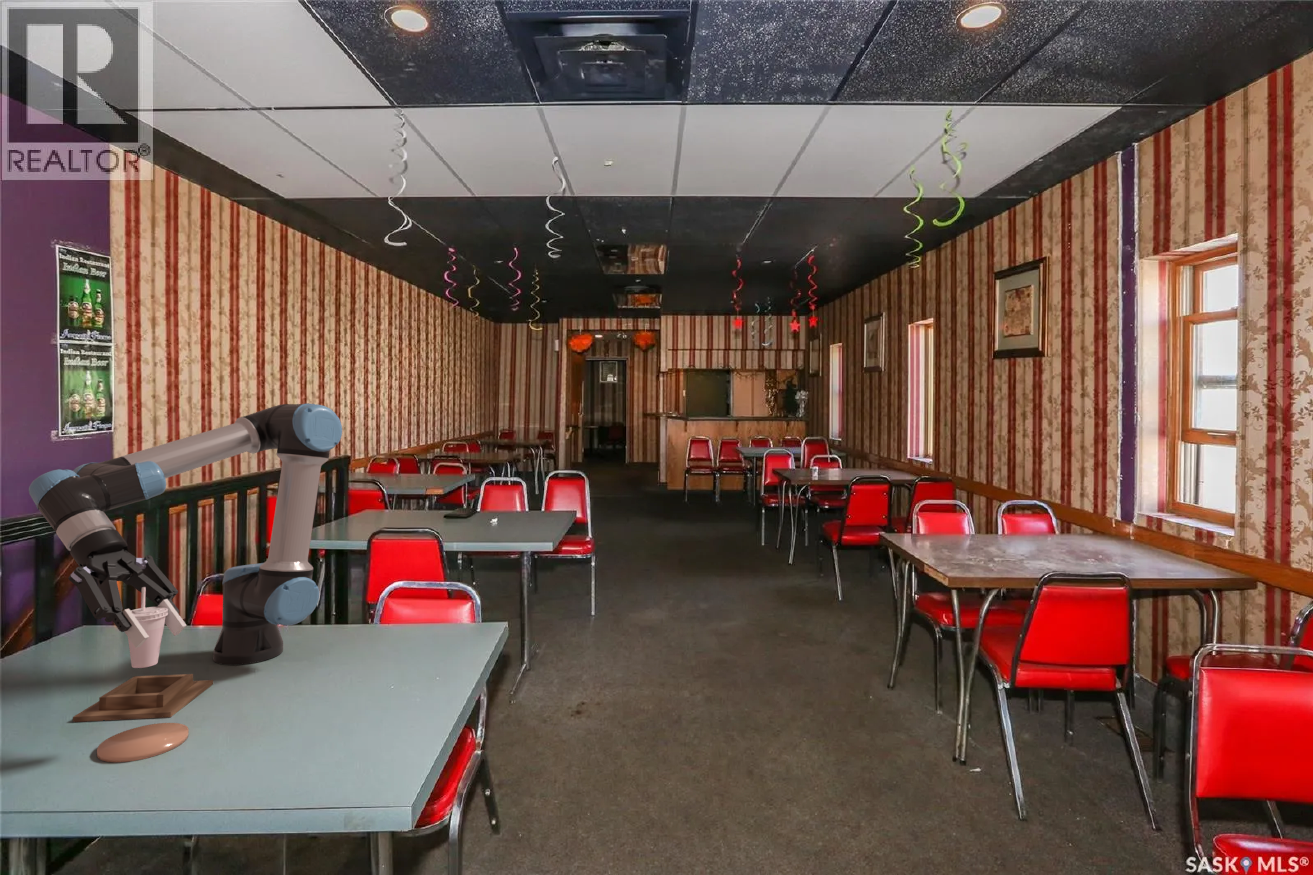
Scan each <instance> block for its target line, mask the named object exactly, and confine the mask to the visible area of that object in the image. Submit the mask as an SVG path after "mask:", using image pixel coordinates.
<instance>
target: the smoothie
mask: <svg viewBox="0 0 1313 875" xmlns="http://www.w3.org/2000/svg"><path fill="white" fill-rule="evenodd" d="M145 592H146V587H142V593H141V603H140V605H141V606H140V608H136V609H132V610H131V609H130V611H131V612H132V614H133V615H134V616H135V618H136V619H137V621H138V622H139V623H140V625H141V626H142V628H143V629H144V630H145V632H146V633H147V635H148V636H149V638H148V639H147V640H146V641H145V642H144V643H143V644H142V645H141V646H140V647H137V648H135V646H134V645H133V643H132V642H131V640H130V639H129V638H128V637H127V640H128V647H129V656H130V663H131V668H134V669H138V668H139V669H142V668H148V667H149V668H150V667H152V666H155V665H157V664H158V662H159V658H160V657H159V656H160V651H161V647H162V646H161V644H162V640H163V633H164V628H165V625H166V624H165V617H166V616H167V615H168V609H167V608H165V607H157V606H148V607H146V596H145Z"/></svg>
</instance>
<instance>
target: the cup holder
mask: <svg viewBox="0 0 1313 875" xmlns="http://www.w3.org/2000/svg"><path fill="white" fill-rule="evenodd" d="M213 685H214V679H207V680H206V679H204V680H194V674H193V673H187V674H186V673H184V674H161V675H159V674H157V675H155V674H154V675H135V676H133V677H131V678H130V679H128V680H126V681H125V682H123V683H121V684H119V685H118V686H116V687H114V688H112V689H110V690H109V691H108V692H106V693H105V694H102V695H101V696H100V697H99V699H98V701H96V702H95V703H93V704H92V705H90V706H88V707H87V708H86V709H85V708H84V710H82V711H80V712H79V713H77V714H75V715H74V716H72V723H81V722H84V723H85V722H100V721H102V722H103V720H105V721H117V720H118V721H122V720H141V719H162V718H172V717H173V716H174V715H175V714H177V713H178V712H179V711H181V710H182V709H183V708H185V707H186V706H187V705H188V704H189V703H191V702H192V701H194V700H195V699H197V698H198V697H199V696H201V695H202V694H203V693H204V692H205V691H207V690H208V689H209V688H210V687H212V686H213Z"/></svg>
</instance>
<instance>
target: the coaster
mask: <svg viewBox="0 0 1313 875" xmlns="http://www.w3.org/2000/svg"><path fill="white" fill-rule="evenodd" d="M189 730H190V729H189V727H188V726H187V725H185V724H183V723H177V722H159V723H152V724H147V725H141V726H137V727H134V728H130V729H126V730H124V731H121V732H119V733H116V734H114V735H112V736H110V737H108V738H106V739H105V740H103V741H102V742H101V743H100V744H98V746H97V749H96V757H97V759H98V760H100V761H102V762H106V763H128V762H129V763H130V762H134V761H135V762H136V761H141V760H146V759H149V758H152V757H156V756H159V755H162V754H164V753H167V752H169V751H172V750H174V749H176V748H177V747H180V746H181V745H182V744H183V743H185V742H186V741H187V739H188V738H189V735H190V734H189Z"/></svg>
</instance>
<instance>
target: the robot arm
mask: <svg viewBox="0 0 1313 875" xmlns="http://www.w3.org/2000/svg"><path fill="white" fill-rule="evenodd" d="M342 434H343V426H342V422H341V419H340V418H339V416H338V415H337V414H336V412H335V411H334V410H333V409H331V408H330V407H327V406H325V405H321V404H316V403H296V404H294V403H293V404H291V403H284V404H278V405H273V406H271V407H268V408H264V409H261V410H259V411H256V412H253V413H250V414H247V415H243V416H241V417H240V416H239V417H237V418H236V419H235V421H234V423H231V424H227V425H224V426H220V427H218V428H213V429H211V430H207V431H202V432H200V433H196V434H193V435H190V436H186V437H183V438H180V439H175V440H173V441H170V442H166V443H163V444H162V443H161V444H159V445H157V446H152V447H150V448H145V449H142V450H139V451H135V452H133V453H129V454H125V455H121V456H118V457H115V458H111V459H108V460H105V461H100V462H88V463H84V464H81V465H79V466H77V467H75V468H74V469H73V470H72V469H66V468H65V469H61V468H58V469H53V470H50V471H48V472H45V473H42V474H40V475H39V476H38V477H36V478H35V479H33V481H32V482H31V483H30V485H29V487H28V493H29V496H30V497H31V499H32V501H33V503H34V504H35V506H36V508H37V510H38V511H39V512H40V513H41V514H42V516H43V517H44V519H46V521H47V523H49V525H50V526H51V528H52V529H53V531H54V532H55V533H56V536H57V537H58V538H59V540H60V541H61V542H62V545H64V546H65V548H66V549H67V551H69V553H70V555H71V557H72V558H73V560H74V561H75V562H76V564H77V565H78V566H77V567H76V568H75V569H74V570H73V571H72V573H70V574H69V576H68V581H70V583H72V584H73V585H74V586H76V588H77V589H78V592H79V593H80V595H81V596H82V599H83V600H84V601H85V604H86V605H87V607H88V610H89V611H90V612H91V615H92V616H93V618H94V619H96V620H102V618H103V619H104V622H106V623H111V622H113V624H114V625H115V626H116V628H117V630H118V631H119V632H121V633H123V632H124V634H126V636H127V639H128V638H129V639H130V640H131V642H132V643H133V645H134V646H135V648H137V647H140V646H141V645H142V644H143V643H144V642H145V641H146V640H147V639H148V638H149V636H148V635H147V633H146V632H145V630H144V629H143V628H142V626H141V625H140V623H139V622H138V621H137V619H136V618H135V616H134V615H133V614H132V612H131V609H130V608H126V609H125V608H123V603H122V599H121V593H120V590H119V585H118V582H123V583H124V584H125V585H127V586H131V587H132V588H134V589H136V590H137V591H138V592H139V593H141V594H142V587H146V592H145V598H147V599H148V600H150V601H151V602H152V603H154V604H155V605H156V607H165V608H167V609H168V615H167V616H166V617H165V624H164V625H166V627H167V628H168V629H169V631H170V633H172V635H173V636H179V634H180V633H181V632H182V631H184V629H185V628H186V627H187V624H186V622H185V621H184V620H183V618H182V616H180V610H179V608H178V607H177V606H176V604H175V603H174V601H173V599H174V598H175V597H176V595H177V594H179V590H178V589H177V588H176V587H175V585H174V584H173V583H172V582H171V581H170V579H168V578H167V576H166V575H165V574H164V573H163V571H162V570H161V569H160V568H159V567H158V565H156V563H155V561H154V558H153V556H152V555H150V554H146V556H144V557H136V556H135V555H134V554H132V553H130V552H129V548H128V543H127V541H126V540H125V539H124V538H123V536H122V535H121V533H120V532H119V531H118V530H117V529H116V526H115V525H114V523H113V522H112V521H111V520H110V518H109V517H108V515H106V513H105V512H108V511H110V510H114V509H117V508H120V507H125V506H127V505H130V504H135V503H138V502H142V501H145V500H149V499H151V498H154V497H156V496H161V494H164V493H165V490H166V488H167V480H166V479H168V478H171V477H174V476H177V475H180V474H183V473H186V472H189V471H192V470H195V469H198V468H202V467H204V466H208V465H210V464H211V465H212V464H214V463H217V462H220V461H223V460H226V459H229V458H232V457H235V456H238V455H242V454H244V453H247V452H248V454H249V453H250V454H252V455H254V454H257V453H260V452H263V451H268V450H276V456H277V457H278V458H279V460H280V461H281V469H280V470H281V471H280V474H279V476H280V478H279V483H278V489H277V496H276V503H275V510H274V516H273V524H272V529H271V536H270V544H269V551H268V558H267V560H266V561H264V562H261V563H253V564H252V563H250V564H245V565H244V564H243V565H237V566H232V567H228V569H226V570H225V571H224V573H223V579H222V625H221V626H222V627H221V631H220V633H219V635H218V639H217V640H216V643H215V646H214V648H213V653H212V655H213V656H212V657H213V658H212V661H213V663H216V664H219V665H224V666H226V665H228V666H235V665H236V666H237V665H249V664H254V663H260V662H264V661H266V660H270V659H273V658H276V657H277V656H280V655H281V654H282V653H283V651H284V640H283V636H282V635H281V632H280V629H279V626H292V625H293V626H294V625H297V624H298V623H301V622H303V621H304V620H305V619H307V617H308V616H310V615H311V614H312V613H313V612H314V610H315V609H316V607H317V605H318V603H319V599H320V590H319V587H318V585H317V583H316V582H315V581H314V580H313V572H314V567H313V565H312V564H311V563H310V562H309V555H310V554H309V552H310V546H311V541H312V540H311V539H312V532H313V525H314V517H315V512H316V511H315V510H316V504H317V497H318V491H319V482H320V476H321V470H322V469H321V468H322V466H323V465H324V464H325V463H326V462H328V461H329V460H330V453H331V452H330V451H331V450H332V449H334V448H336V445H339V443H340V441H341V439H342V436H343V435H342ZM96 581H97V582H96ZM123 609H124V610H123Z"/></svg>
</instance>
